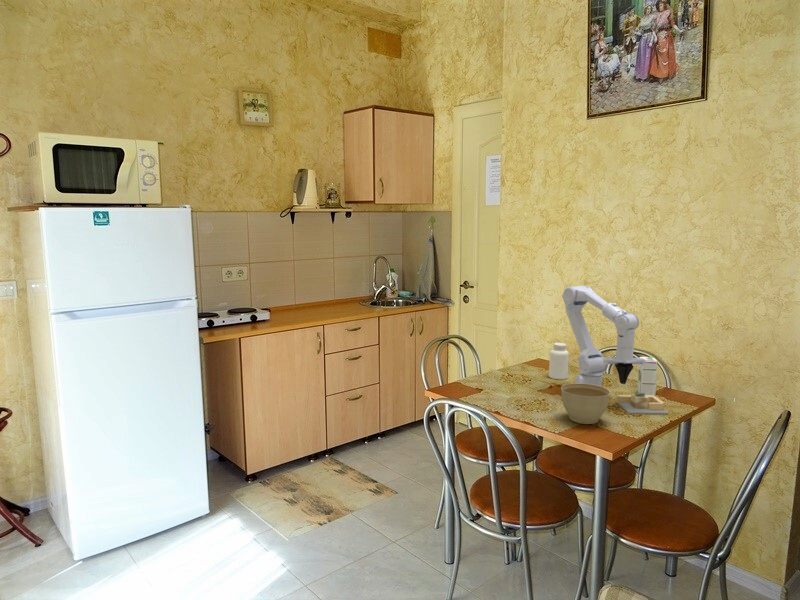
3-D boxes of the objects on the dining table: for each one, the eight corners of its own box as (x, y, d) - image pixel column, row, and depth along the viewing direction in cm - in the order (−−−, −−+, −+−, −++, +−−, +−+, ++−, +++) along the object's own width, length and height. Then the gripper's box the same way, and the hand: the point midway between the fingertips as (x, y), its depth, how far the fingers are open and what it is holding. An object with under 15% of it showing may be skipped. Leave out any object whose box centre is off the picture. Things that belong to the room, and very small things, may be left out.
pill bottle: (567, 380, 239) (569, 346, 237) (548, 379, 241) (549, 345, 239) (567, 375, 247) (569, 342, 244) (548, 374, 249) (550, 341, 247)
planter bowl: (615, 419, 193) (617, 389, 192) (596, 432, 181) (599, 400, 180) (571, 408, 204) (573, 379, 202) (551, 420, 192) (552, 389, 190)
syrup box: (655, 396, 219) (658, 360, 216) (639, 395, 220) (642, 359, 218) (652, 392, 224) (654, 357, 222) (636, 391, 225) (639, 356, 223)
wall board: (628, 413, 199) (629, 405, 198) (616, 402, 211) (616, 394, 210) (668, 414, 199) (668, 406, 198) (653, 403, 211) (654, 395, 210)
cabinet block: (635, 408, 203) (636, 395, 202) (630, 404, 207) (631, 391, 206) (647, 408, 203) (648, 395, 202) (642, 404, 207) (643, 391, 206)
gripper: (609, 349, 199) (606, 386, 201) (649, 349, 199) (647, 386, 201) (602, 344, 206) (600, 380, 208) (641, 345, 206) (639, 380, 208)
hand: (622, 383), depth 205 cm, fingers closed
